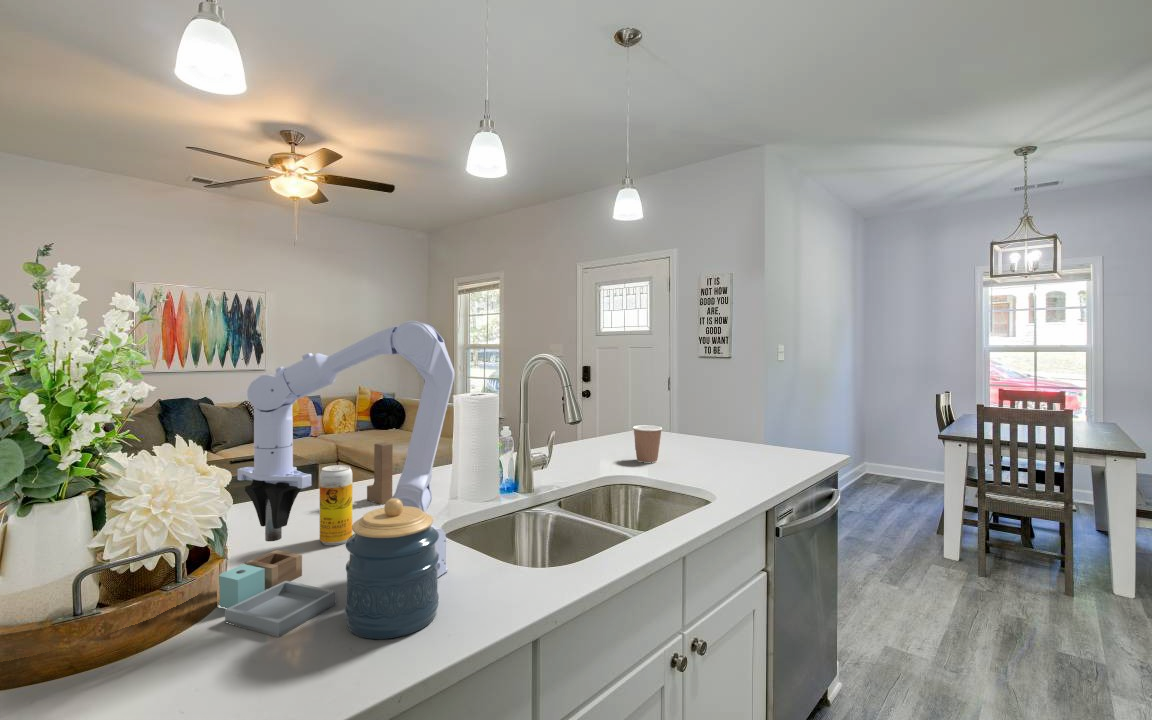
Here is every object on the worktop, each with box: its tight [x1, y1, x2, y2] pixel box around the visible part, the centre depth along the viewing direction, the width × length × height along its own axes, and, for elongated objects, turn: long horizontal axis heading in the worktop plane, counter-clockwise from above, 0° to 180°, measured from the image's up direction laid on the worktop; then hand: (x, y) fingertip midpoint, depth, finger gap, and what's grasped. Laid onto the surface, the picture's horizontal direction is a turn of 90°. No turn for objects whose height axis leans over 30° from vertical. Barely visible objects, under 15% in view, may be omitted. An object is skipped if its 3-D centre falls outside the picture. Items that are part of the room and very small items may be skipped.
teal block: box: [219, 563, 266, 608], centre depth 83 cm, size 4×4×5 cm
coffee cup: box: [632, 424, 663, 464], centre depth 190 cm, size 10×10×12 cm
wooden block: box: [366, 441, 394, 505], centre depth 138 cm, size 7×3×15 cm, turn 53°
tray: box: [224, 581, 337, 638], centre depth 80 cm, size 10×10×2 cm
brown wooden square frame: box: [244, 549, 303, 590], centre depth 91 cm, size 6×6×4 cm
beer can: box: [319, 464, 353, 546], centre depth 109 cm, size 6×6×15 cm
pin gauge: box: [264, 497, 283, 542], centre depth 91 cm, size 2×2×7 cm
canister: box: [344, 498, 439, 640], centre depth 79 cm, size 13×13×18 cm
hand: (273, 525), depth 91 cm, fingers closed on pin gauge, 2 cm apart
